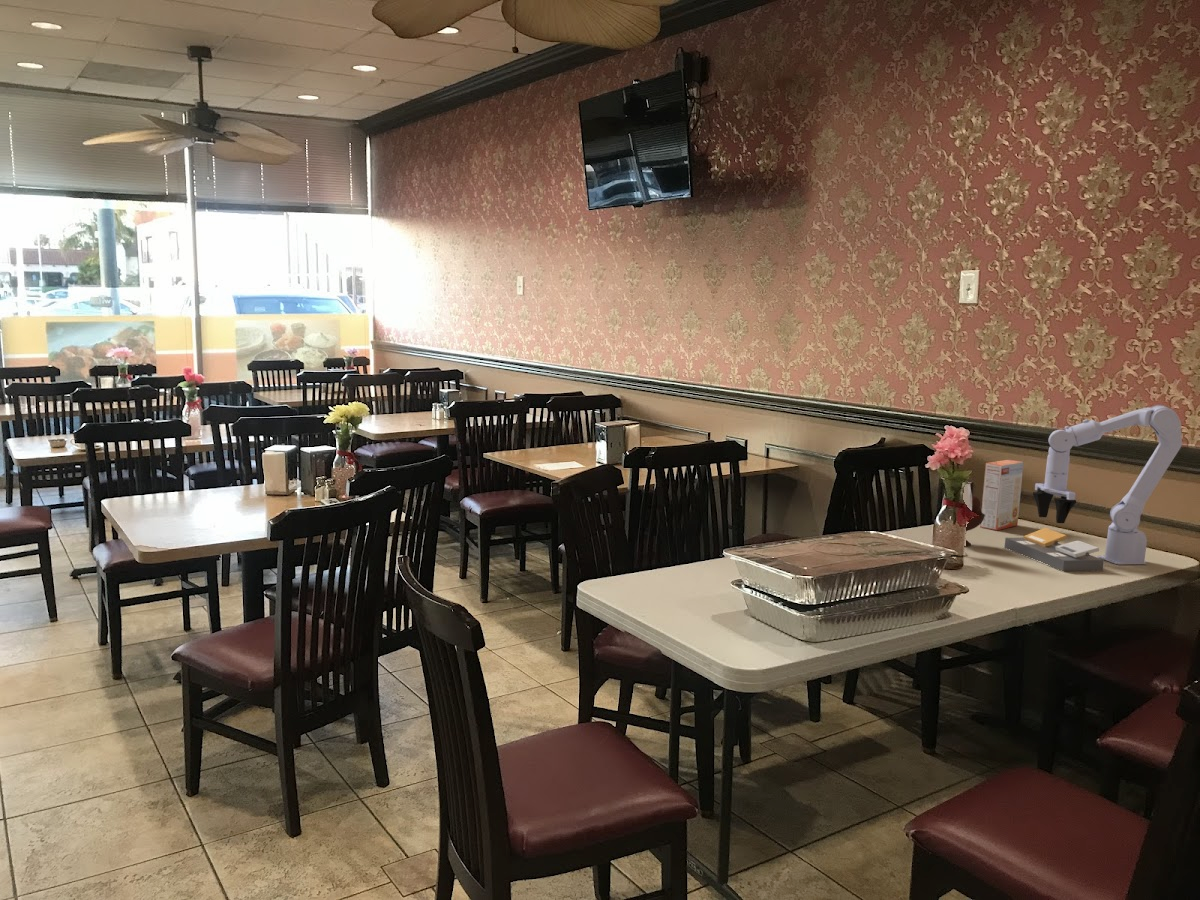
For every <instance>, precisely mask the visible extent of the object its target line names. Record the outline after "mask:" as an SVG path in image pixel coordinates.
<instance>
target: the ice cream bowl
mask: <svg viewBox="0 0 1200 900" xmlns="http://www.w3.org/2000/svg"><path fill="white" fill-rule="evenodd" d="M971 494H972V512H974V513H976V514H977V515H979V516H978V517H974V518H972V519H971V520H970V521H969V523H968V524H967V527H966V533H967V532H968V531H971V530H974V529H975V528H977V527H979V526H980V524H981V523H982V521H983V520H984V517H985V514H983V513H982V508H981V500H980V498H978V496H977V495H975V494H973V493H971ZM966 547H972V544H971V542H970V541H968V540H967V539H966Z"/></svg>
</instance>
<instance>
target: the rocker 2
mask: <svg viewBox="0 0 1200 900" xmlns="http://www.w3.org/2000/svg"><path fill="white" fill-rule="evenodd" d="M1055 548H1056V550H1057V551H1060V552H1062V553H1065V554H1068V555H1070V556H1073V557H1075V558H1076V557H1080V556H1083V555H1084V556H1087V557H1088V556H1089V555H1091V554H1094V553H1097V552H1099V551H1100V549H1099V547H1098V546H1095V545H1092V544H1089V543H1087V542H1083V541H1081V540H1075V541H1071V542H1070V541H1069V542H1067V543H1062V545H1059V546H1055Z"/></svg>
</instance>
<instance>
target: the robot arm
mask: <svg viewBox="0 0 1200 900" xmlns="http://www.w3.org/2000/svg"><path fill="white" fill-rule="evenodd" d="M1132 426H1139V427H1140V426H1141V427H1144V428H1145V427H1147V428H1148V427H1149V426H1150V427H1149V428H1152V429H1153V431H1154V432H1155V435H1156V438H1157V440H1158V441H1157V442H1158V445H1157V446H1156V447H1155V449H1154V451H1153V453H1152V454H1151V456H1150V457H1149V459H1148V460H1147V462H1146V464H1145V465H1144V466H1143V468H1142V470H1141V471H1140V473H1139V475H1138V477H1137V478H1136V480H1135V481H1134V482H1133V484H1132V486H1131V488H1130V489H1129V491H1128V492H1127V493H1126V495H1124V496H1123V497H1122V499H1121V500H1120V502H1118V503H1116V504H1115V505H1113V507H1111V509H1110V512H1109V518H1110V519H1111V521H1112V522H1111V524H1110V525H1108V529H1107V537H1106V545H1105V552H1104V555H1103V554H1102V555H1097V556H1096V557H1097V558H1100V559H1102V560H1104V561H1107V562H1110V563H1112V564H1114V565H1147V561H1145V560H1146V559H1145V558H1146V554H1147V553H1146V552H1147V545H1148V544H1147V543H1148V539H1147V535H1146V533H1145V532H1143V531H1142V530H1140V529H1138V527H1139V525H1140V522H1141V515H1142V513H1143V512H1144V509H1145V505H1146V503H1147V501H1148V499H1149V498H1150V497H1151V495H1152V493H1153V491H1154V490H1155V489H1156V487H1157V485H1158V484H1159V482H1160V481H1161V479H1162V478H1163V476H1164V474H1165V473H1166V471H1167V470H1168V469H1169V467H1170V465H1171V463H1172V461H1173V460H1174V458H1175V457H1176V456H1177V454H1178V452H1179V451H1180V449H1181V448H1182V446H1183V440H1182V421H1181V419H1180V418H1179V415H1178V414H1177V412H1176V411H1175V410H1174V409H1172V408H1169V407H1167V406H1166V405H1163V404H1155V405H1153V406H1151V407H1150V406H1149V407H1143V408H1140V409H1135V410H1132V411H1129V412H1126V413H1123V414H1119V415H1117V416H1114V417H1112V418H1109V419H1106V420H1103V421H1100V422H1099V421H1097V420H1094V419H1091V420H1088V419H1087V418H1085V419H1084V420H1082V422H1081V423H1077V424H1074V425H1071V426H1069V425H1066V426H1064V429H1056V430H1054V431H1052V432H1051V434H1050V435H1049V437H1048V439H1047V440H1048V444H1049V448H1048V455H1047V458H1046V466H1045V476H1044V483H1040V482H1039V483H1038V482H1037V483H1035V485H1034V490H1035V491H1033V492H1032V495H1033V498H1034V500H1035V503H1036V507H1037V512H1038V513H1037V515H1038V517H1039V518H1047V516H1048V514H1049V510H1050V504H1051V502H1052V499H1053V497H1054V496H1057V497H1054V504H1055V509H1056V512H1055V513H1056V514H1055V516H1056V517H1055V520H1056V521H1055V522H1056V524H1065V523H1066V521H1067V518H1068V515H1069V513H1070V511H1071V510H1072V508H1073V507H1074V505H1076V503H1077V499H1076V493H1077V492H1073V491H1072V490H1070V489H1068V488H1067V486H1068V481H1069V480H1068V478H1069V470H1070V461H1071V457H1070V455H1071V454H1070V452H1071V449H1072V448H1073V447H1080V446H1082V445H1086V444H1089V443H1093V442H1095V441H1096V442H1097V441H1099V440H1100V439H1101V438H1102V437H1103V435H1104V434H1106V433H1109V432H1110V433H1111V432H1115V431H1118V430H1121V429H1124V428H1128V427H1132Z"/></svg>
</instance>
